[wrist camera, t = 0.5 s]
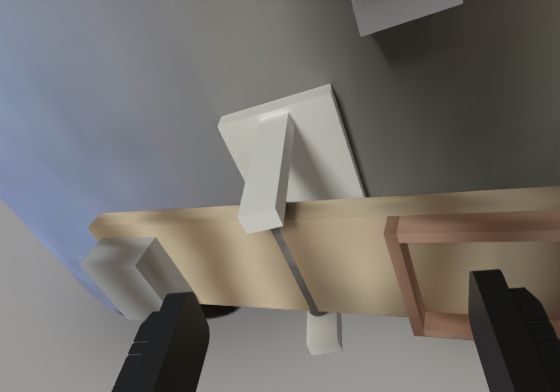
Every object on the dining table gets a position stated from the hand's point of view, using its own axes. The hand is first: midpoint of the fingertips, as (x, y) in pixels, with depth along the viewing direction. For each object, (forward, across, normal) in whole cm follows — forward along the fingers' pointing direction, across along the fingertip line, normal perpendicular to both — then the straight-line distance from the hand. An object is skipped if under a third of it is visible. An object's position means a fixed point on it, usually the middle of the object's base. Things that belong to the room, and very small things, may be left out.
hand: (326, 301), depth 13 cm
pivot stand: (+20, +3, +8) cm, 22 cm away
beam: (+11, +3, +8) cm, 14 cm away
